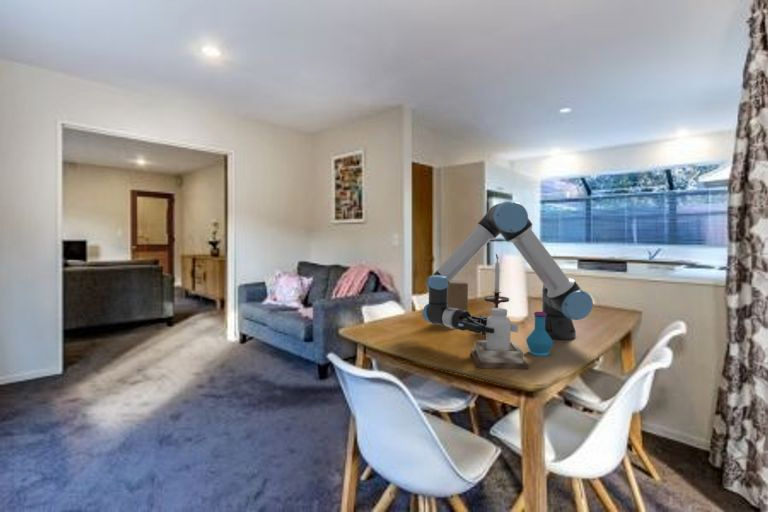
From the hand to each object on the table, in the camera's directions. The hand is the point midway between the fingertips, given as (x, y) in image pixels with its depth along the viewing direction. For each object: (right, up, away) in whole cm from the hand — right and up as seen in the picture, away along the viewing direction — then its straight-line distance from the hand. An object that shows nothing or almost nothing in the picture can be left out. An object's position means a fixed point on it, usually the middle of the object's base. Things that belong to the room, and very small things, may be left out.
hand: (510, 330), depth 132 cm
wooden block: (-6, -8, +63) cm, 64 cm away
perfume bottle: (+15, -11, +13) cm, 22 cm away
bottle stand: (-3, -11, +4) cm, 12 cm away
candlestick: (+9, -9, +48) cm, 49 cm away
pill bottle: (-3, -8, +4) cm, 10 cm away
